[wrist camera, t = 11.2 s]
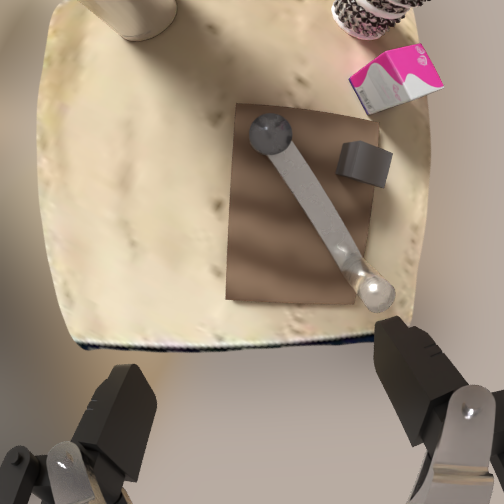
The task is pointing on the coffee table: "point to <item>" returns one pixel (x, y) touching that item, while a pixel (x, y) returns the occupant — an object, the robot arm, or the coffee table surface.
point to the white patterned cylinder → (370, 15)
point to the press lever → (319, 210)
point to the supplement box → (395, 78)
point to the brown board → (299, 207)
